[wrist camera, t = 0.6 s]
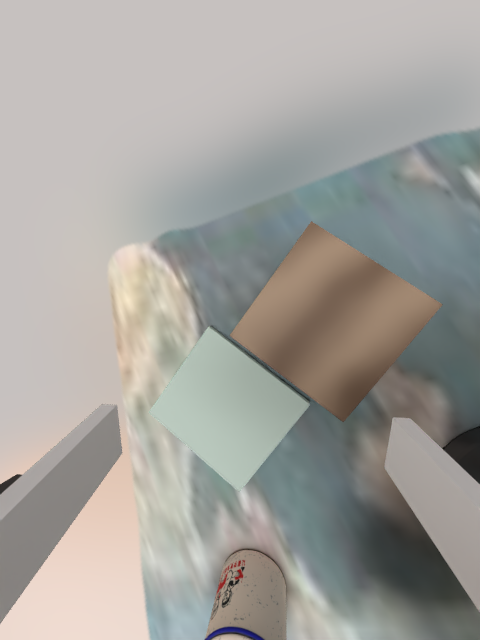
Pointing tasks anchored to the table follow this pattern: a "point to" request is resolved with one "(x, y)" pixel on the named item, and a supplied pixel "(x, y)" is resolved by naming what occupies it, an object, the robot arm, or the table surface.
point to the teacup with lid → (249, 600)
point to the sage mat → (228, 408)
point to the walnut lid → (333, 320)
